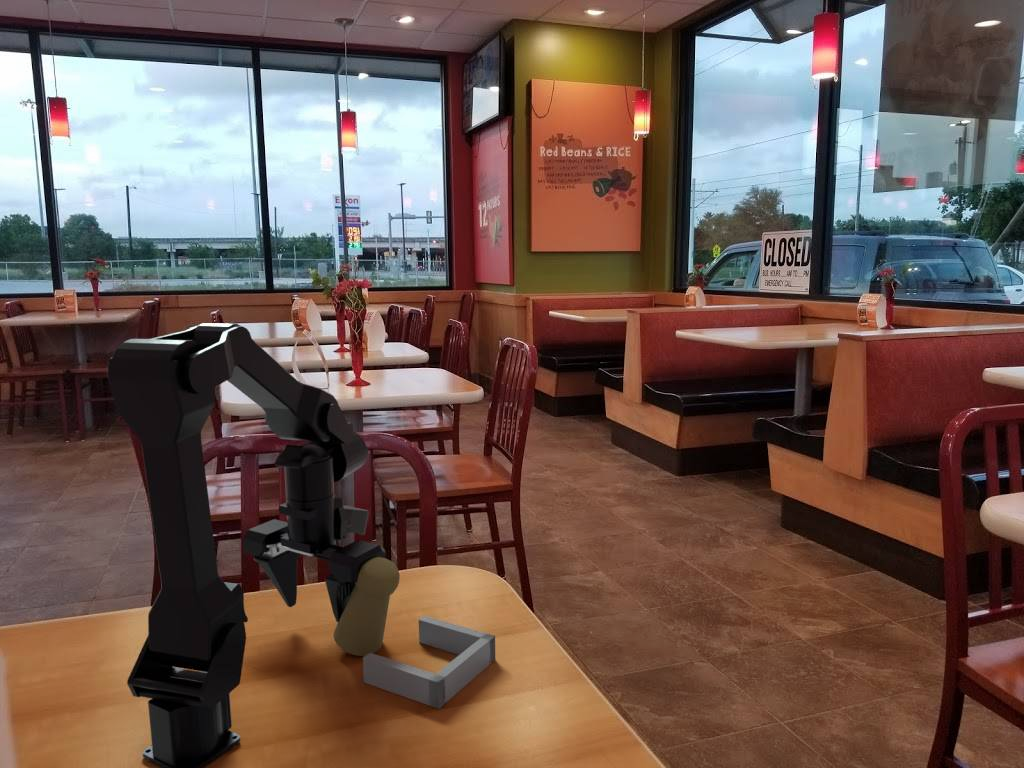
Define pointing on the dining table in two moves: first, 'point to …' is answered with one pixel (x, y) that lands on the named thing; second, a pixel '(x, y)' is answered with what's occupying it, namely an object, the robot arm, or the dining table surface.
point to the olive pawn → (367, 608)
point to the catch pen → (449, 680)
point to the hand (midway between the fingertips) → (315, 613)
